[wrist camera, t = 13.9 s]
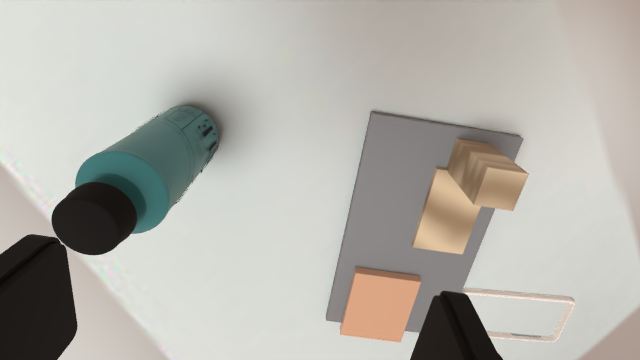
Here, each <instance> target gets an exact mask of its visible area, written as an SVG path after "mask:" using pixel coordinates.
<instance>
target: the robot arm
mask: <svg viewBox="0 0 640 360" xmlns="http://www.w3.org/2000/svg"><path fill="white" fill-rule="evenodd" d="M76 331H77V319H76V313H75V306H74V299H73V292H72V285H71V278H70V272H69V265H68V258H67V251H66V247H65V246H64V245H62V244H61V243H60V241H59V240H58V238H55V237H48V236H41V235H34V234H31V235H27V236H25V237H24V238H22V239H21V240H20V241H18V242H17V243H15V244H14V245H13V246H11V247H10V248H9V249H7V250H6V251H4V252H3V253H2V254H0V360H57V359H58V358H59V357H60V355H61V354H62V353H63V351H64V350H65V349H66V348H67V346H68V345H69V344H70V342H71V341H72V340H73V338H74V336H75V334H76ZM410 360H503V359H502V357H501V356H500V355H499V354H498V353H497V351H496V349H495V347H494V345H493V344H492V342H491V340H490V338H489V336H488V334H487V332H486V330H485V328H484V326H483V324H482V322H481V320H480V318H479V316H478V314H477V312H476V311H475V309H474V307H473V305H472V303H471V301H470V299H469V297H468V296H467V295H466V294H465V293H458V292H451V291H442V292H441V293H440V295H439V296H438V295H435V296H434V297H433V299H432V301H431V304H430V307H429V310H428V312H427V315H426V318H425V321H424V323H423V326H422V329H421V331H420V334H419V337H418V340H417V342H416V345H415V348H414V350H413V353H412V356H411V359H410Z"/></svg>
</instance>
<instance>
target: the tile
mask: <svg viewBox="0 0 640 360" xmlns="http://www.w3.org/2000/svg"><path fill="white" fill-rule="evenodd" d="M420 284H421V280H420V278H419V276H417V275H410V274H403V273H396V272H388V271H381V270H374V269H367V268H360V267H355V269H354V273H353V277H352V281H351V285H350V289H349V293H348V297H347V301H346V305H345V309H344V313H343V317H342V322H341V326H340V335H347V336H355V337H363V338H371V339H379V340H387V341H394V342H401V339H402V336H403V333H404V331H405V328H406V325H407V322H408V319H409V316H410V313H411V310H412V307H413V304H414V301H415V298H416V296H417V293H418V290H419V287H420Z"/></svg>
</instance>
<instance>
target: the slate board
mask: <svg viewBox="0 0 640 360" xmlns="http://www.w3.org/2000/svg"><path fill="white" fill-rule="evenodd" d="M456 138H457V139H463V140H470V141H476V142H482V143H488V144H491V145H492V146H493V147H495V148H496V149H497V150H498V151H500V152H501V153H502V154H504V155H505V156H506V157H508V158H509V159H510V160H512V161H513V162H514V161H515V158H516V156H517V153H518V151H519V148H520V146H521V144H522V141H523V138H522V137H520V136H518V135H512V134H506V133H499V132H493V131H487V130H481V129H475V128H469V127H463V126H457V125H450V124H444V123H438V122H432V121H426V120H420V119H414V118H407V117H401V116H395V115H389V114H383V113H377V112H371V114H370V118H369V123H368V127H367V132H366V136H365V141H364V145H363V150H362V154H361V159H360V164H359V168H358V173H357V177H356V182H355V186H354V191H353V195H352V200H351V204H350V209H349V213H348V218H347V223H346V227H345V232H344V236H343V241H342V245H341V250H340V254H339V259H338V263H337V268H336V272H335V277H334V282H333V286H332V291H331V295H330V300H329V304H328V309H327V313H326V321H334V322H342V317H343V313H344V309H345V305H346V301H347V297H348V293H349V289H350V285H351V281H352V277H353V273H354V269H355V267H360V268H367V269H374V270H381V271H388V272H396V273H403V274H410V275H417V276H419V278H420V280H421V284H420V287H419V290H418V293H417V296H416V298H415V301H414V304H413V307H412V310H411V313H410V316H409V319H408V322H407V325H406V328H405V331H411V332H419V333H420V331H421V329H422V326H423V323H424V321H425V318H426V315H427V312H428V310H429V307H430V304H431V301H432V299H433V297H434V296H435V295H438V296H439V295H440V293H441V292H442V291H451V292H458V293H461V292H462V289H463V287H464V284H465V282H466V279H467V277H468V274H469V272H470V269H471V267H472V264H473V262H474V259H475V257H476V255H477V252H478V250H479V247H480V245H481V242H482V240H483V237H484V235H485V232H486V230H487V227H488V225H489V222H490V220H491V218H492V215H493V213H494V210H495V208H491V207H484V206H481V208H480V210H479V213H478V216H477V218H476V221H475V223H474V226H473V229H472V231H471V234H470V236H469V239H468V242H467V244H466V247H465V249H464V252H463V254H455V253H448V252H441V251H434V250H427V249H420V248H413V247H412V241H413V237H414V234H415V231H416V228H417V225H418V222H419V218H420V215H421V212H422V209H423V206H424V202H425V199H426V196H427V193H428V190H429V186H430V183H431V180H432V177H433V174H434V170H435V167H441V168H447V165H448V162H449V159H450V156H451V153H452V150H453V147H454V144H455V141H456Z"/></svg>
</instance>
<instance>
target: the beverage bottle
mask: <svg viewBox="0 0 640 360" xmlns="http://www.w3.org/2000/svg"><path fill="white" fill-rule="evenodd" d="M164 111H165V110H164ZM153 118H154V117H153ZM151 119H152V118H151ZM141 126H142V125H141ZM139 127H140V126H139ZM139 127H138V128H139ZM138 128H137V131H135V132H134V133H131V134H130V135H129V136H127V137H125V138H124V139H122V140H120V141H119V142H117V143H115V144H114V145H112V146H110V147H109V148H107V149H105V150H104V151H102V152H100V153H97V154H95V155H93V156H92V157H90V158H89V159H87V160H86V161H85V162H84V163H83V164H82V166H81V167H80V169H79V171H78V173H77V176H76V182H75V187H76V188H75V189H74V190H72V191H71V192H70V193H69V194H68V195H67V197H66V198H64V199H63V200H62V201H61V202H60V203H59V204H58V205H57V206H56V207H55V209H54V211H53V214H52V226H53V229H54V231H55V233H56V235H57V237H58V238H59V239H60V240H61V241H62V242H63V243H64V244H65V245H66V246H68V247H69V248H71V249H72V250H74V251H77V252H79V253H82V254H86V255H100V254H104V253H107V252H109V251H111V250H113V249H114V248H115V247H116V246H117V245H118V244H119V243H121V242H122V241H123V240H125V239H126V238H127V237H128V236H129V235H130V234H136V233H142V232H146V231H148V230H151V229H152V228H154V227H156V226H157V225H158V224H160V223H161V221H162V220H163V219H164V218H165V216H166V215H167V213H168V211H169V210H170V208H171V207H172V206H173V205H174V204H176V203H178V202H179V201H178V202H176V201H177V200H178V199H179V198H181V195H182V194H183V193H184V191H187V190H188V189H187V187H189V185H190V184H191V182H192V181H194V179H195V177H196V176H197V175H198V174H199V172H200V171H201V172H202V169H203V167H204V166H205V165H206V163H207V165H208V162H210V161H209V160H210V159H211V157H213V154H214V153H215V151H216V149H217V148H218V147H217V146H218V130H217V127H216V125H215V124H214V122H213V121H212V119H211V118H210V117H209V116H208V115H207V114H206V113H204V112H203V111H201V110H200V109H198V108H194V107H193V106H192V107H190V106H188V105H187V106H185V105H184V106H178V107H174V108H171V109H170V110H168V111H166V112H165V113H163V114H161V115H160V114H159V116H158V117H157V118H156V117H155V119H153V120H152V121H150V122H149V123H147V124H146V123H145V125H144V126H142V127H141V128H139V129H138ZM207 165H206V166H207ZM206 166H205V167H206ZM205 167H204V168H205ZM192 183H193V182H192ZM186 189H187V190H186ZM185 193H186V192H185ZM182 196H184V195H182ZM179 200H180V199H179Z"/></svg>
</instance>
